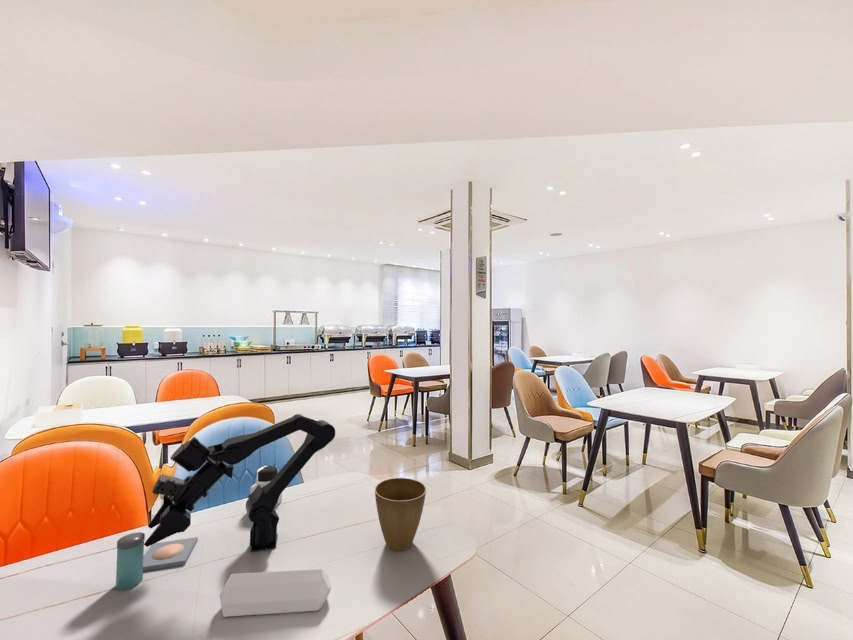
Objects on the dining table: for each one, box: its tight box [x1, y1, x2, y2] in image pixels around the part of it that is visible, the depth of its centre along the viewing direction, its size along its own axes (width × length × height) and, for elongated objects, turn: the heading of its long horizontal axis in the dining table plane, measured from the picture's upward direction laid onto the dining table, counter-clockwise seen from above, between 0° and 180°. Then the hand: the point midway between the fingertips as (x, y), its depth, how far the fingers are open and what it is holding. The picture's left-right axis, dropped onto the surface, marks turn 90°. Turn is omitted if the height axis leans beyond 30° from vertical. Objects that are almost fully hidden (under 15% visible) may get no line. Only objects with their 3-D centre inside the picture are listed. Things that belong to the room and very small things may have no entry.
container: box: [249, 465, 283, 508], centre depth 126 cm, size 8×8×13 cm
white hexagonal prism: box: [219, 568, 332, 618], centre depth 82 cm, size 7×7×24 cm
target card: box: [143, 536, 199, 572], centre depth 98 cm, size 11×11×1 cm
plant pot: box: [374, 477, 427, 552], centre depth 105 cm, size 15×15×16 cm
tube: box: [115, 531, 146, 591], centre depth 87 cm, size 5×5×10 cm
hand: (147, 536), depth 89 cm, fingers open, 9 cm apart
